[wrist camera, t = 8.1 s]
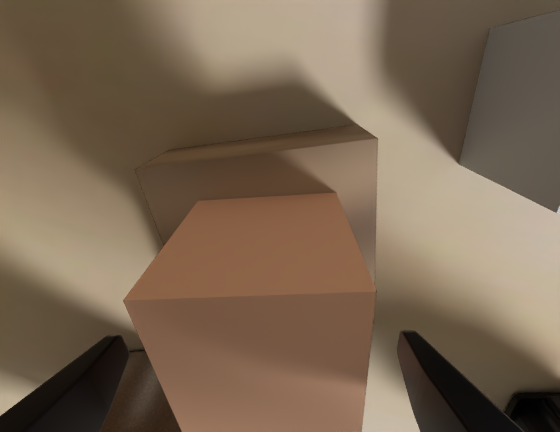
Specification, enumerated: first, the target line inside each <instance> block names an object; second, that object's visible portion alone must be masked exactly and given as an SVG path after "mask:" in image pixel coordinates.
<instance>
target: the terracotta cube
mask: <svg viewBox="0 0 560 432" xmlns="http://www.w3.org/2000/svg"><path fill="white" fill-rule="evenodd" d="M376 292H377V291H376V289H375V286H374V284H373V281H372V279H371V276H370V274H369V272H368V269H367V267H366V264H365V262H364V259H363V257H362V254H361V252H360V250H359V247H358V245H357V242H356V240H355V237H354V235H353V232H352V230H351V227H350V225H349V223H348V220H347V218H346V215H345V213H344V210H343V208H342V205H341V203H340V200H339V198H338V196H337V193H319V194H302V195H286V196H269V197H252V198H235V199H219V200H202V201H197V203H196V204H195V205H194V207H193V208H192V209H191V211H190V212H189V213H188V215H187V216H186V217H185V219H184V220H183V221H182V223H181V224H180V225H179V227H178V228H177V229H176V231H175V232H174V233H173V235H172V236H171V237H170V239H169V240H168V241H167V243H166V244H165V245H164V247H163V248H162V249H161V251H160V252H159V253H158V255H157V256H156V257H155V259H154V260H153V261H152V263H151V264H150V265H149V267H148V268H147V269H146V271H145V272H144V273H143V275H142V276H141V277H140V279H139V280H138V281H137V283H136V284H135V285H134V287H133V288H132V289H131V291H130V292H129V293H128V295H127V296H126V297H125V299H124V300H123V302H124V304H125V306H126V308H127V311H128V313H129V315H130V317H131V320H132V322H133V324H134V326H135V328H136V331H137V333H138V335H139V337H140V340H141V342H142V344H143V346H144V349H145V351H146V353H147V355H148V357H149V360H150V362H151V364H152V366H153V369H154V371H155V373H156V375H157V377H158V380H159V382H160V384H161V386H162V389H163V391H164V393H165V395H166V398H167V400H168V402H169V404H170V406H171V409H172V411H173V413H174V415H175V418H176V420H177V422H178V424H179V427H180V429H181V431H182V432H362V423H363V414H364V404H365V395H366V386H367V376H368V367H369V358H370V348H371V339H372V330H373V320H374V311H375V302H376Z"/></svg>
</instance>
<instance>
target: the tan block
mask: <svg viewBox="0 0 560 432" xmlns="http://www.w3.org/2000/svg"><path fill="white" fill-rule="evenodd" d="M377 154H378V138H377V137H375V136H374V135H372V134H371V133H369V132H368V131H366V130H365V129H363V128H362V127H360V126H359V125H351V126H343V127H336V128H329V129H321V130H314V131H306V132H299V133H291V134H284V135H277V136H269V137H262V138H254V139H247V140H239V141H232V142H225V143H217V144H210V145H202V146H195V147H187V148H180V149H173V150H168V151H166V152H165V153H163V154H161V155H159V156H158V157H156V158H154V159H152V160H151V161H149V162H147V163H145V164H143V165H142V166H140V167H138V168H136V169H135V172H136V175H137V177H138V180H139V183H140V185H141V188H142V190H143V193H144V196H145V198H146V201H147V203H148V206H149V209H150V211H151V214H152V216H153V219H154V222H155V224H156V227H157V229H158V232H159V234H160V237H161V240H162V242H163V245H165V244H166V243H167V241H168V240H169V239H170V237H171V236H172V235H173V233H174V232H175V231H176V229H177V228H178V227H179V225H180V224H181V223H182V221H183V220H184V219H185V217H186V216H187V215H188V213H189V212H190V211H191V209H192V208H193V207H194V205H195V204H196V203H197V201H202V200H219V199H235V198H252V197H269V196H286V195H302V194H319V193H337V196H338V198H339V200H340V203H341V205H342V208H343V210H344V213H345V215H346V218H347V220H348V223H349V225H350V227H351V230H352V232H353V235H354V237H355V240H356V242H357V245H358V247H359V250H360V252H361V254H362V257H363V259H364V262H365V264H366V267H367V269H368V272H369V274H370V276H371V279H372V281H373V284H374V286H375V245H376V200H377ZM373 324H374V320H373Z"/></svg>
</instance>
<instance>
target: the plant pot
mask: <svg viewBox="0 0 560 432" xmlns="http://www.w3.org/2000/svg"><path fill="white" fill-rule="evenodd" d="M100 432H182V431H181V429H180V427H179V424H178V422H177V420H176V418H175V415H174V413H173V411H172V409H171V406H170V404H169V402H168V400H167V398H166V395H165V393H164V391H163V389H162V386H161V384H160V382H159V380H158V377H157V375H156V373H155V371H154V369H153V366H152V364H151V362H150V360H149V357H148V355H147V353H146V351H136V352H130V353H129V359H128V362H127V364H126V367H125V370H124V373H123V376H122V378H121V381H120V384H119V387H118V389H117V392H116V395H115V398H114V400H113V403H112V405H111V408H110V410H109V413H108V415H107V417H106V419H105V422H104V424H103V426H102V428H101V430H100Z"/></svg>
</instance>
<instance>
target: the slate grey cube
mask: <svg viewBox="0 0 560 432" xmlns="http://www.w3.org/2000/svg"><path fill="white" fill-rule="evenodd" d="M459 165H461V166H463V167H465V168H467V169H469V170H471V171H473V172H475V173H477V174H479V175H481V176H483V177H485V178H487V179H489V180H492V181H494V182H496V183H498V184H500V185H502V186H504V187H506V188H508V189H510V190H512V191H514V192H516V193H518V194H520V195H522V196H524V197H526V198H528V199H530V200H532V201H534V202H536V203H538V204H540V205H542V206H544V207H546V208H548V209H550V210H552V211H554V212H556V213H560V10H558V11H554V12H550V13H547V14H543V15H539V16H535V17H531V18H528V19H524V20H520V21H516V22H512V23H509V24H505V25H501V26H497V27H493V28H490V30H489V34H488V39H487V43H486V47H485V52H484V56H483V61H482V65H481V69H480V74H479V78H478V82H477V87H476V91H475V95H474V100H473V104H472V109H471V113H470V117H469V122H468V126H467V130H466V135H465V139H464V143H463V148H462V152H461V156H460V161H459Z"/></svg>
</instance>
